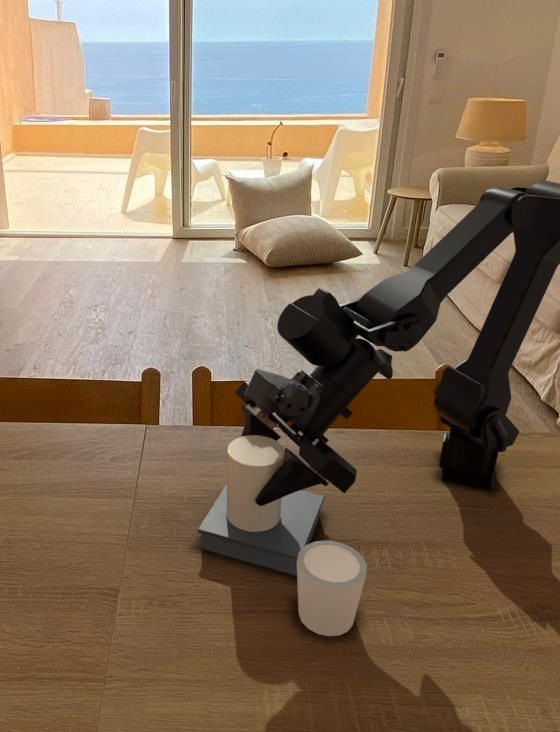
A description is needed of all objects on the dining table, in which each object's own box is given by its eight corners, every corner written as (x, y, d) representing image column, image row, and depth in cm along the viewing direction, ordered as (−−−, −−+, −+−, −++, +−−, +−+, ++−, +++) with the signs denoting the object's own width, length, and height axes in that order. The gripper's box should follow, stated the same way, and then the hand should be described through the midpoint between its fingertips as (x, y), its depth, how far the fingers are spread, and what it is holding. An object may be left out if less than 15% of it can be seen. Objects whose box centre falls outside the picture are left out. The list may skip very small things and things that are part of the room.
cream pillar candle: (286, 505, 84) (291, 441, 80) (271, 537, 78) (275, 471, 75) (236, 492, 86) (238, 430, 82) (218, 523, 81) (219, 458, 77)
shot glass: (355, 592, 75) (361, 541, 72) (364, 643, 68) (372, 589, 66) (290, 588, 75) (294, 537, 72) (294, 638, 69) (298, 584, 66)
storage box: (322, 515, 87) (324, 495, 85) (298, 578, 77) (299, 557, 75) (232, 492, 91) (232, 473, 90) (197, 549, 81) (197, 529, 80)
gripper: (251, 317, 83) (167, 416, 83) (342, 384, 67) (237, 505, 68) (304, 365, 89) (224, 457, 89) (399, 437, 73) (301, 547, 74)
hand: (243, 487), depth 80 cm, fingers closed on cream pillar candle, 6 cm apart
